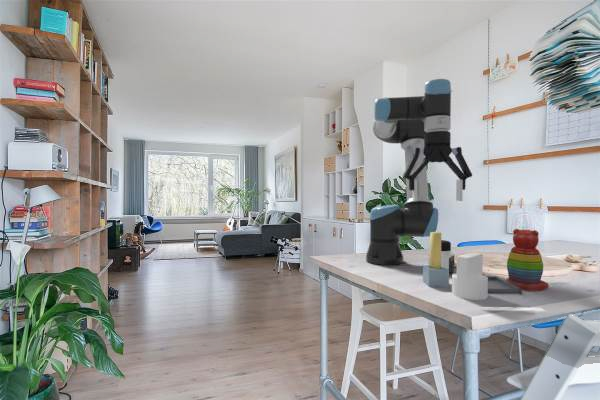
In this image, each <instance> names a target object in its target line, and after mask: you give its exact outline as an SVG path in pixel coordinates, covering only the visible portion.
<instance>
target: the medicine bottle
mask: <svg viewBox="0 0 600 400" xmlns="http://www.w3.org/2000/svg"><path fill="white" fill-rule="evenodd" d="M451 251H452V243H451V241H449V240H445V239H441V265H443V266H444V267H446V268H447V269H449V276H452V274H454V273H455V254H454V253H452V252H451ZM427 256H428V258H427V259H428V262H427V263H428V264H427V265H430V254H428V255H427Z"/></svg>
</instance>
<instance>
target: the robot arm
mask: <svg viewBox="0 0 600 400" xmlns="http://www.w3.org/2000/svg"><path fill="white" fill-rule="evenodd" d="M451 87H452V84H451V82H450V80H449V79H448V78H436V79H431V80H428V81H427V82H425V84H424V91H423V93H424V95H416V96H400V97H398V96H397V97H381V98H380V97H379V98H377V99H375V100H374V110H373V111H374V120H375V122H374V123H373V128H372V129H373V130H372V131H373V134H374V136H375V137H376V138H377V139H378V140H381V141H382V142H384V143H388V144H400V148H401V149H402V150H403V151H404V163H405V164H404V165H405V171H404V173H403V175H402V177H403V178H404V179H405V185H406V202H404V203H403V207H402V208H401V207H400V205H399V204H386V205H380V206H376V207H372V209H371V210H370V217H369V220H370V229H369V231H370V233H369V234H370V235H369V238H370V239H369V241H370V242H369V245H368V248H367V252H366V255H365V261H366V262H367V263H370V264H372V265H373V264H374V265H383V266H392V265H393V266H394V265H395V266H396V265H401V264H403V263H404V254H403V252H402V249H401V246H400V237H409V238H410V237H421V238H425V237H430V232H437V229H438V223H439V210H438V208H437V207H434V204H433V202H432V201H431V200H430V199H429V187H428V186H429V185H428V172H427V165H428V164H429V163H432V164H433V163H444V164H446V165H447V166H448V168H449V169H450V170H451V171H452V172H453V173H454V175H455V176H456V177H457V178H458V179H456V183H455V184H456V185H455V187H456V189H455V190H456V197H455V198H456V199H455V201H456V202H458V201H459V202H463V191H465V190H466V180H467V179H469V178H471V177H473V173H472V171H471V169H470V167H469V165H468V164H467V163H468V162H466V159H465V158H464V157H465V156H464V155H463V150H462V146H461V147H460V146H457V147H453V148H452V146H451V140H452V139H451V131H450V130H451V119H452V117H451V115H452V114H451V112H452V111H451V110H452V109H451V108H452V107H451V105H452V100H451V99H452V88H451ZM451 154H453V155H454V157H455V159H456V161H457V163H458V165H459V166H458V165H457V164H456V163H455V162H454V160H453V159H452V157H451V156H450V155H451ZM459 167H460V168H459Z"/></svg>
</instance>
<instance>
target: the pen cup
mask: <svg viewBox="0 0 600 400" xmlns="http://www.w3.org/2000/svg"><path fill="white" fill-rule="evenodd" d="M422 282H423V283H424V284H426V286H427V287H435V288H438V287H439V288H441V287H442V288H444V287H445V288H448V287H450V275H449V269H447V268H446V267H444V266H443V265H441V269H431V268H430V265H428V264H423V265H422Z"/></svg>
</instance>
